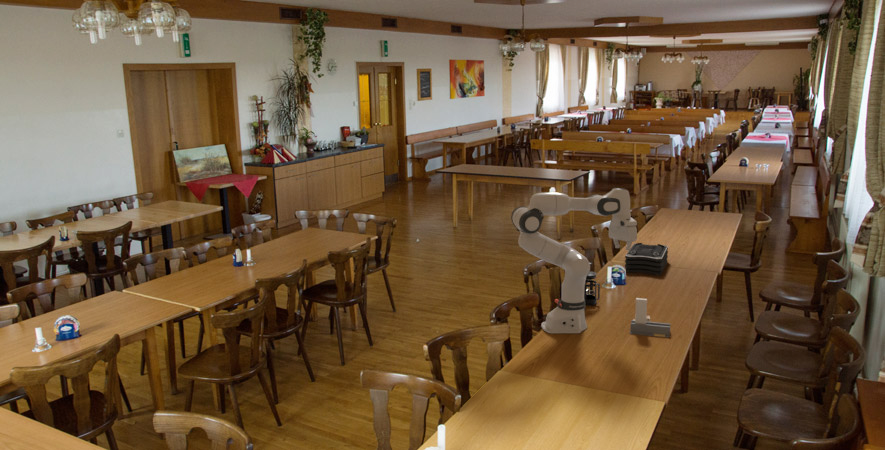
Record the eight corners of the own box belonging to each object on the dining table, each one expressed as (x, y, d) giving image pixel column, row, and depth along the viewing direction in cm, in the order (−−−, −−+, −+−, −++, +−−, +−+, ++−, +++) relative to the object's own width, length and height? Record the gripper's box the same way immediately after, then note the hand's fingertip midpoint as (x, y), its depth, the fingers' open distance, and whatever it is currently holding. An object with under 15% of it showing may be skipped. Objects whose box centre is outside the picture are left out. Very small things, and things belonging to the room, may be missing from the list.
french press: (575, 303, 366) (575, 263, 361) (582, 298, 374) (582, 259, 369) (595, 307, 359) (596, 266, 354) (602, 302, 367) (603, 262, 362)
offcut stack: (632, 327, 327) (632, 317, 326) (633, 323, 332) (633, 314, 331) (649, 329, 324) (650, 319, 323) (650, 325, 329) (650, 315, 328)
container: (667, 261, 442) (668, 242, 439) (660, 276, 411) (661, 255, 408) (633, 258, 451) (634, 239, 448) (624, 273, 420) (624, 252, 417)
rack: (629, 335, 319) (630, 325, 318) (632, 325, 332) (632, 315, 331) (669, 339, 313) (669, 329, 312) (670, 329, 326) (670, 319, 325)
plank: (634, 330, 323) (635, 299, 319) (635, 329, 324) (636, 297, 321) (645, 331, 321) (646, 300, 317) (645, 330, 323) (647, 298, 319)
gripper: (604, 220, 334) (606, 247, 335) (627, 223, 315) (628, 252, 316) (615, 218, 336) (617, 246, 337) (639, 222, 316) (640, 250, 318)
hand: (622, 249), depth 326 cm, fingers open, 8 cm apart
